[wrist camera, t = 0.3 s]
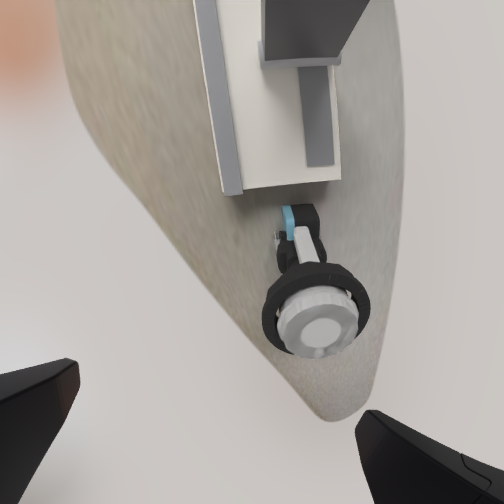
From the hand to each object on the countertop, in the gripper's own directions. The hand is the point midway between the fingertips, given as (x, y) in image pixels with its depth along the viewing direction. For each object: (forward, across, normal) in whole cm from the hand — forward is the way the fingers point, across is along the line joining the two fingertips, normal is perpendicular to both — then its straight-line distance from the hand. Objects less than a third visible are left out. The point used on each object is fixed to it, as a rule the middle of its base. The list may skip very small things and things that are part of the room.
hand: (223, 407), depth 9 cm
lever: (+9, +1, +13) cm, 16 cm away
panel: (+12, -2, +15) cm, 20 cm away
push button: (+16, +4, +2) cm, 16 cm away
